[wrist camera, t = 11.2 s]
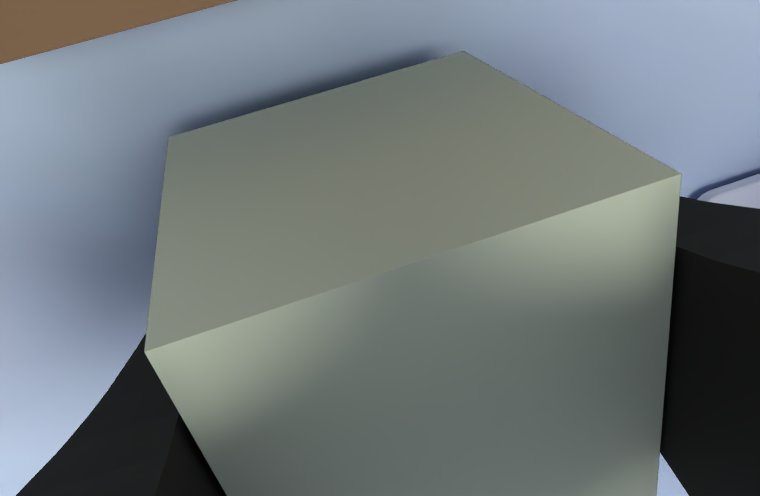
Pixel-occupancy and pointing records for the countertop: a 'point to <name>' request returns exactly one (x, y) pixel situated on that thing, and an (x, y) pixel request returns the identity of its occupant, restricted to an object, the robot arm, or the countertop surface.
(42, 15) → the walnut box
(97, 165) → the countertop surface
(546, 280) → the grey-green cube
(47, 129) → the countertop surface
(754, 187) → the robot arm
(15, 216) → the countertop surface
